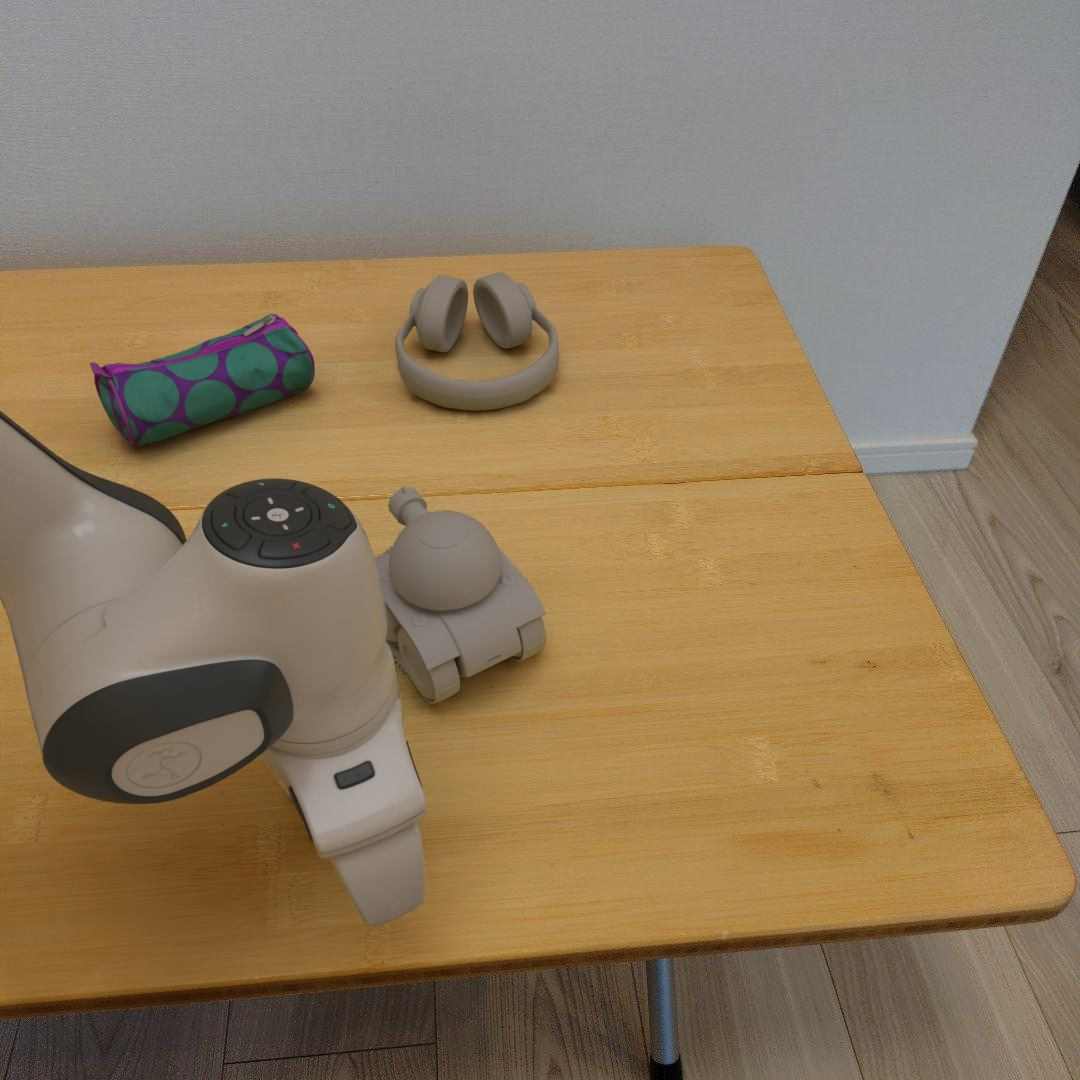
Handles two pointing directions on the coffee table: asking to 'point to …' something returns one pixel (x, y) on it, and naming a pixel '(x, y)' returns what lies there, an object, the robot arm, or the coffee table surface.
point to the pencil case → (205, 381)
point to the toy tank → (453, 598)
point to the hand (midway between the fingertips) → (355, 825)
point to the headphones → (505, 321)
